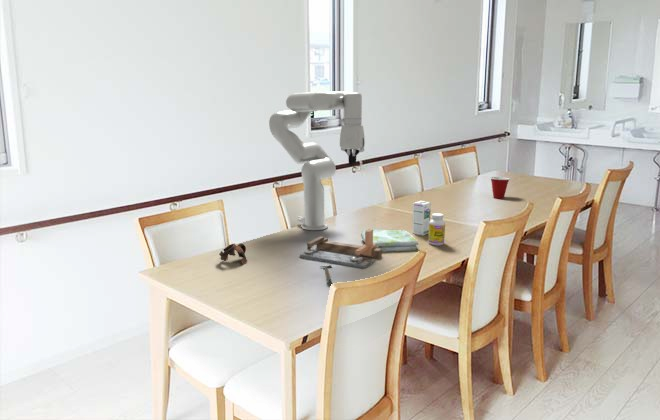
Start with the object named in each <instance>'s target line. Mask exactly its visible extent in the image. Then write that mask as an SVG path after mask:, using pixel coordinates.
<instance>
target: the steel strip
mask: <svg viewBox="0 0 660 420" xmlns="http://www.w3.org/2000/svg"><path fill="white" fill-rule="evenodd" d="M300 258H301V259H306V260H312V261H319V262H323V263H329V264H336V265H341V266H348V267H353V268H358V269H366V268H367V267H369V266H370V265H372V264H373V262H374V259H373V258H366V257H361V256H359V257H358V258H356V257H355V255H348V254H342V253H337V252H330V251H325V250H324V251H323V250H319V249H317V250H316V249H312V248H311V250H307V248H306V249H305V250H304V252H302V253H300V254H299V259H300Z"/></svg>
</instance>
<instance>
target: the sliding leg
mask: <svg viewBox="0 0 660 420" xmlns="http://www.w3.org/2000/svg"><path fill="white" fill-rule="evenodd" d="M366 230H367V231H365V242H364V244H362V245H361V246H362V247H360V248H358V249H357V250H355V254H354V256H355V257H356V258H358V257H360V256H361V255H360V254H362V255H368V256H371V255H372V249H373V248H376V244H373V228H368V229H366Z"/></svg>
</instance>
